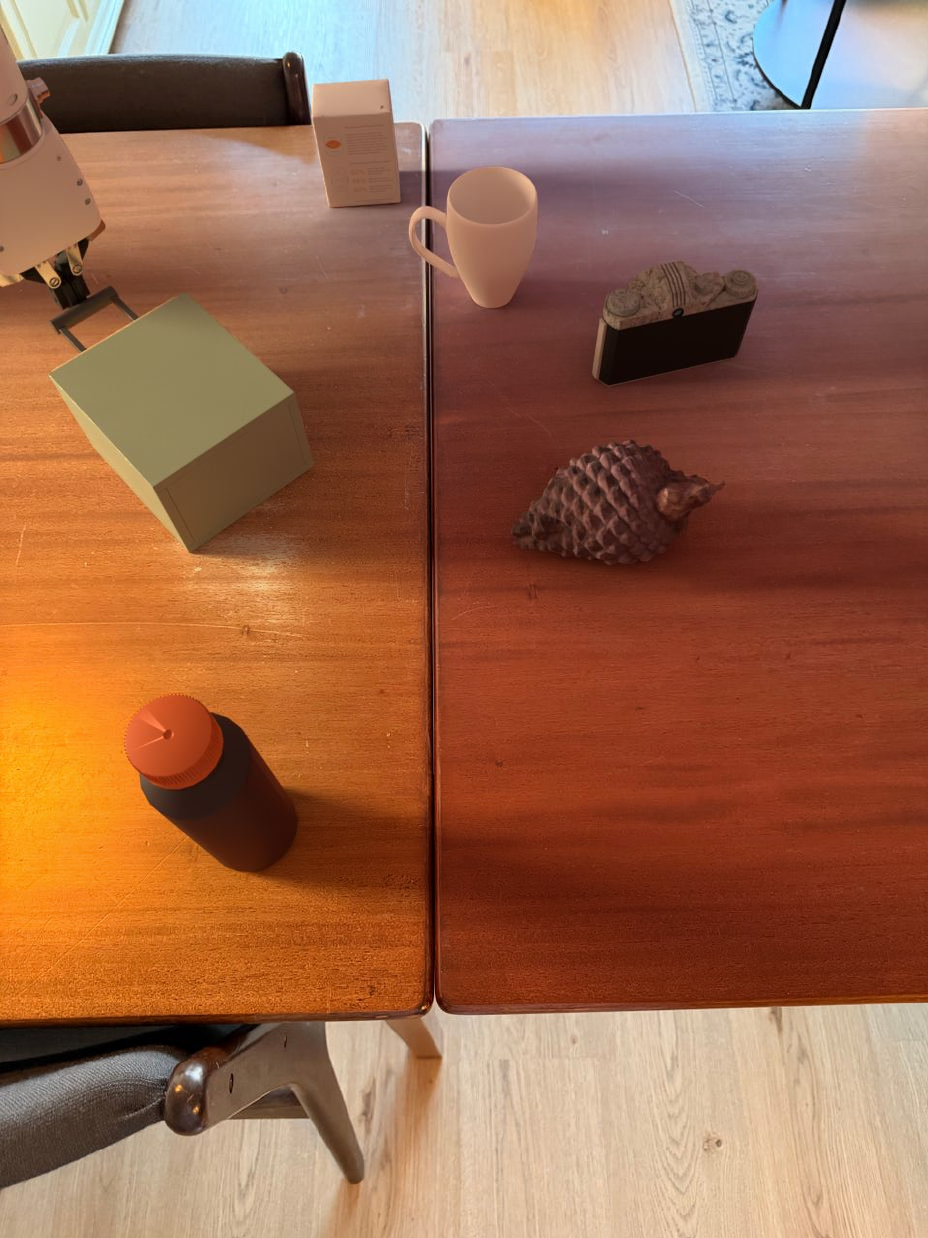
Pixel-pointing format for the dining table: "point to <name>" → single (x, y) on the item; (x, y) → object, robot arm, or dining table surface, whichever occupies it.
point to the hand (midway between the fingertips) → (76, 306)
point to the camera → (672, 322)
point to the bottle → (210, 782)
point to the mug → (485, 232)
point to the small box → (356, 142)
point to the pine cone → (613, 506)
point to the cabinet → (187, 419)
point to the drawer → (87, 310)
